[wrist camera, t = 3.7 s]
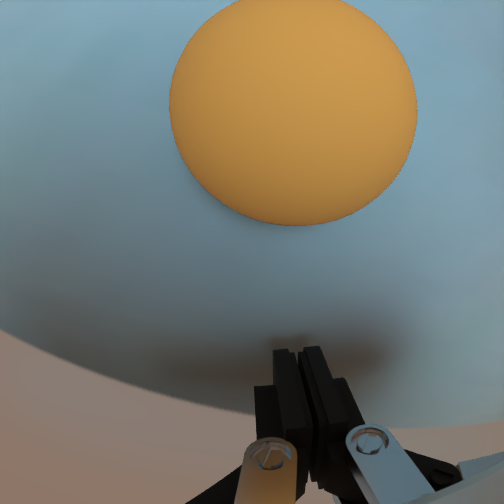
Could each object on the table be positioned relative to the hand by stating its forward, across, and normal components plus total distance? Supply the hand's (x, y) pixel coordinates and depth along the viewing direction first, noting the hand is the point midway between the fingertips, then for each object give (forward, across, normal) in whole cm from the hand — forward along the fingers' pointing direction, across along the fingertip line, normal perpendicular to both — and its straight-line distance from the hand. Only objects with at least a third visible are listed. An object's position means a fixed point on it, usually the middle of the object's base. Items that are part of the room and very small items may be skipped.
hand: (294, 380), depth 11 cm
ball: (-2, 0, -9) cm, 9 cm away
